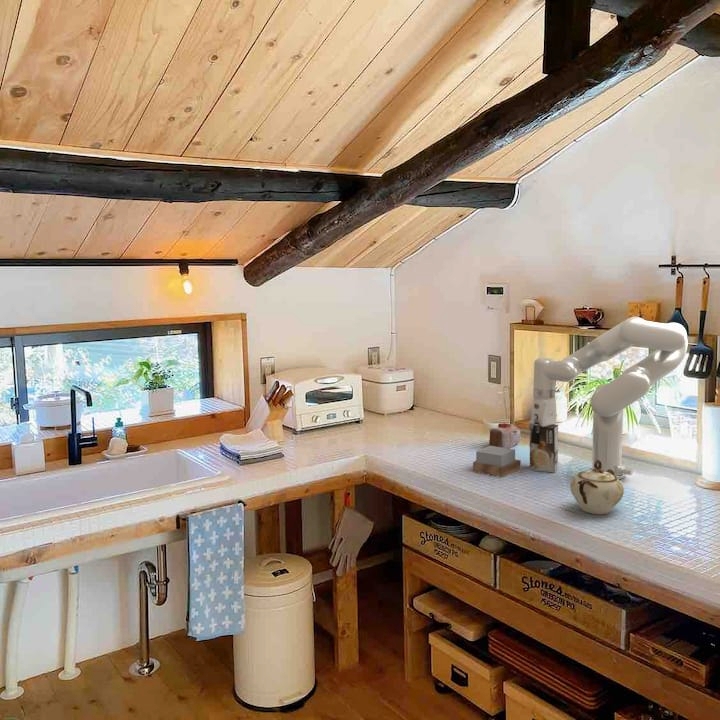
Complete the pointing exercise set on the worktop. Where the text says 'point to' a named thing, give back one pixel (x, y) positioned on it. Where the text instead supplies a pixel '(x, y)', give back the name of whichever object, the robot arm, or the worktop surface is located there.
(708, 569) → the worktop surface
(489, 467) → the tower base block
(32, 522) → the worktop surface
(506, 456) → the tower top block
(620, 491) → the sugar bowl
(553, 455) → the coffee box
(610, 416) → the robot arm
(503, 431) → the food item
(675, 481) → the worktop surface
